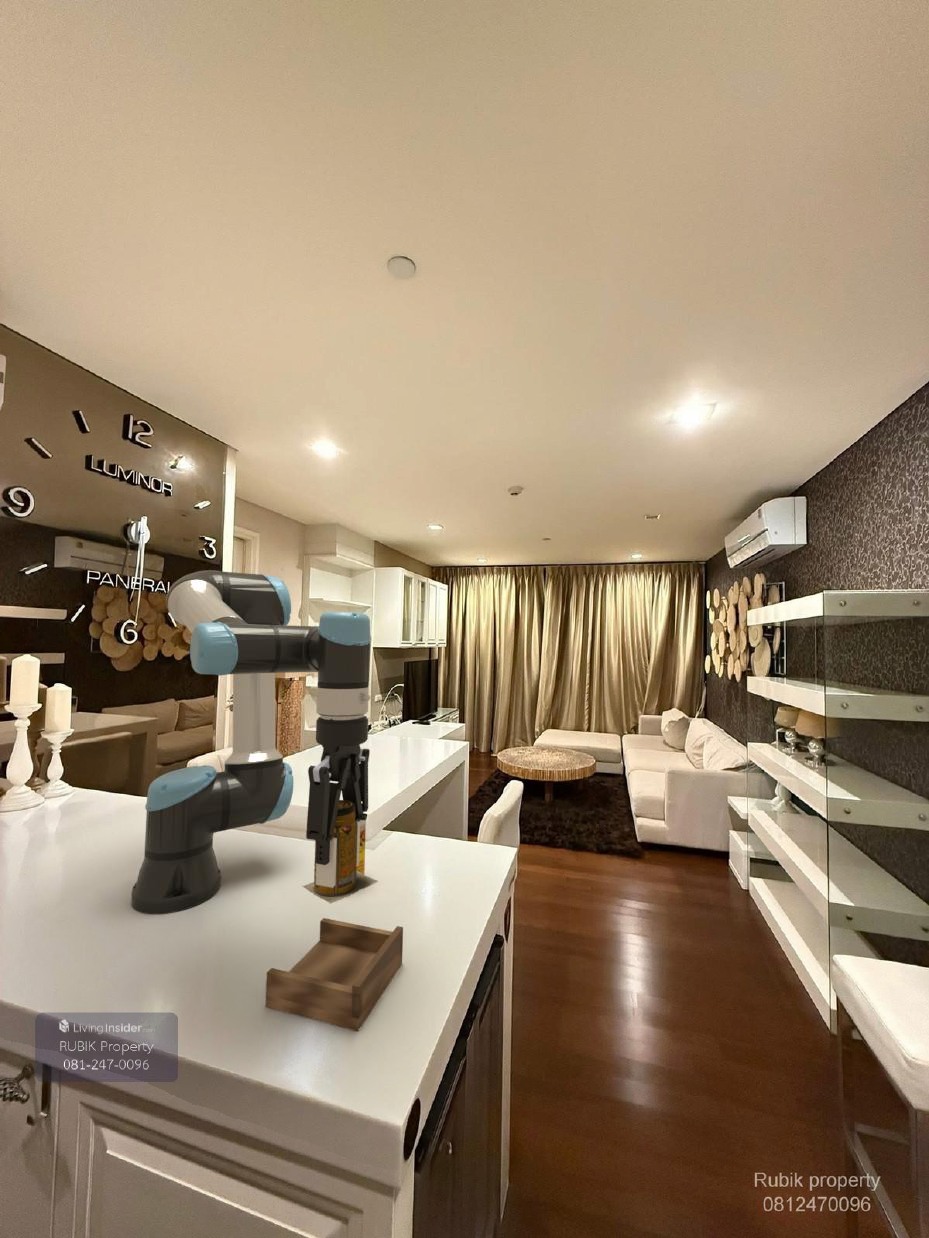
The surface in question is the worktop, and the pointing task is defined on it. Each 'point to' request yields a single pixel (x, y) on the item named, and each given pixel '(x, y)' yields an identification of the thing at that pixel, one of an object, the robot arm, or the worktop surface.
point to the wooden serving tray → (338, 974)
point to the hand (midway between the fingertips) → (338, 873)
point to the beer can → (362, 847)
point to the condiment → (343, 859)
